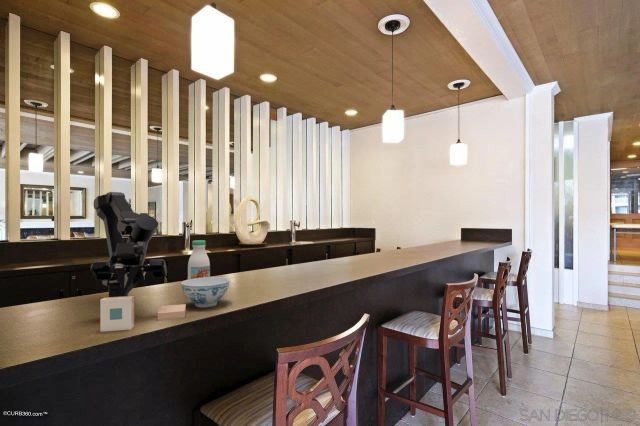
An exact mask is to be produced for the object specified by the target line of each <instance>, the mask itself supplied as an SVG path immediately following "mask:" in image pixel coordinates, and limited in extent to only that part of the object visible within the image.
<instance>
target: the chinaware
mask: <svg viewBox="0 0 640 426" xmlns="http://www.w3.org/2000/svg"><path fill="white" fill-rule="evenodd" d="M230 282H231V280H230V278H227V277H224V276H223V277H221V276H220V277H219V276H210V277H204V278H195V279H189V280H188V279H186V280H183V281H182V282H181V284H180V286H181V290H182V291H183V294H184V296H185V297H186V298H187V299H188V300H189V301H190V302H191V303H193V304H194V306H195V307H196V308H209V307H210V308H211V307H215V306H217V304H218V302H219V301H220V300H221V299H222V298H223V297H224V296H225V294H226V293H227V291H228V288H229V286H230Z"/></svg>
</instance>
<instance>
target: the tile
mask: <svg viewBox="0 0 640 426" xmlns="http://www.w3.org/2000/svg"><path fill="white" fill-rule="evenodd" d="M99 321H100V328H99V329H100V331H99V332H100V333H101V332H115V331H127V330H132V329H134V327H135V296H134V295H131V296H130V295H128V296H125V297H109V296H108V297H103V298H101V299H100V319H99Z"/></svg>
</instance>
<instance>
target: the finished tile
mask: <svg viewBox="0 0 640 426" xmlns="http://www.w3.org/2000/svg"><path fill="white" fill-rule="evenodd" d="M186 313H187V304H186V303H183V304H171V305H161V306H160V307H159V310H158V312H157V321H167V320H175V319H177V320H178V319H184V318H185V317H186Z"/></svg>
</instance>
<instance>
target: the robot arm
mask: <svg viewBox="0 0 640 426" xmlns="http://www.w3.org/2000/svg"><path fill="white" fill-rule="evenodd" d="M93 209H94V210H95V212H96V215H97V217H98V218H100V219H101V220H102V221H103V225H104V233H105V237H106V243H107V248H108V254H109V258H108V261H93V262H92V263H91V265H90V268H89V270H90V272H91V274H92V276H93V278H94V280H95V281H97V282H98V281H99V282H100V281H101V283H102V285H103V286H106V287H108V297H125V296H129V293H130V292H131V291H132V290H133V289H134V288H135V287H136V286H137V285H138V284H140V282H143V281H145V280H146V278H145V275H146V273H148V272H149V273H152V277H153V278H154V279H165V278H167V273H168V269H167V265H166V264H167V263H166V260H164V259H163V258H162V259H150V260H149V261H148V263H147V264H144V262H145V261H146V254H147V249H148V247H149V246H148V244H149V242H150V240H151V239H152V238H153V236H154V234H155V232H156V231H157V230H156V229H157V228H158V225H159V224H158V221H157V219H155V218H154V217H153V216H152V215H151V216H150V215H149V213H148V212H140V213H137V212H134V210H133V209H132V206H130V204H129V201H127V199H126V195H125V192H121V191H120V192H117V191H116V192H114V191H109V192H107V193H105V194H101V195H98V196H96V197H95V199H94V200H93ZM123 236H128V237H127V241H126V242H124V240H123Z"/></svg>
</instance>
